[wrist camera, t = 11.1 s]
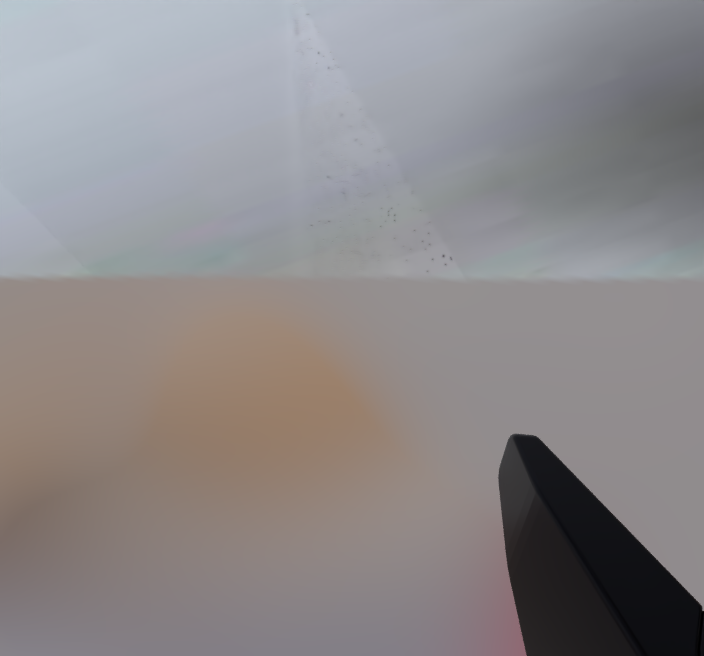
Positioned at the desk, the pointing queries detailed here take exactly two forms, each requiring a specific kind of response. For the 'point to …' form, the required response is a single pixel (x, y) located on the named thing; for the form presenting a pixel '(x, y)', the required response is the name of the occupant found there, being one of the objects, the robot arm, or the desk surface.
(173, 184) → the desk surface
